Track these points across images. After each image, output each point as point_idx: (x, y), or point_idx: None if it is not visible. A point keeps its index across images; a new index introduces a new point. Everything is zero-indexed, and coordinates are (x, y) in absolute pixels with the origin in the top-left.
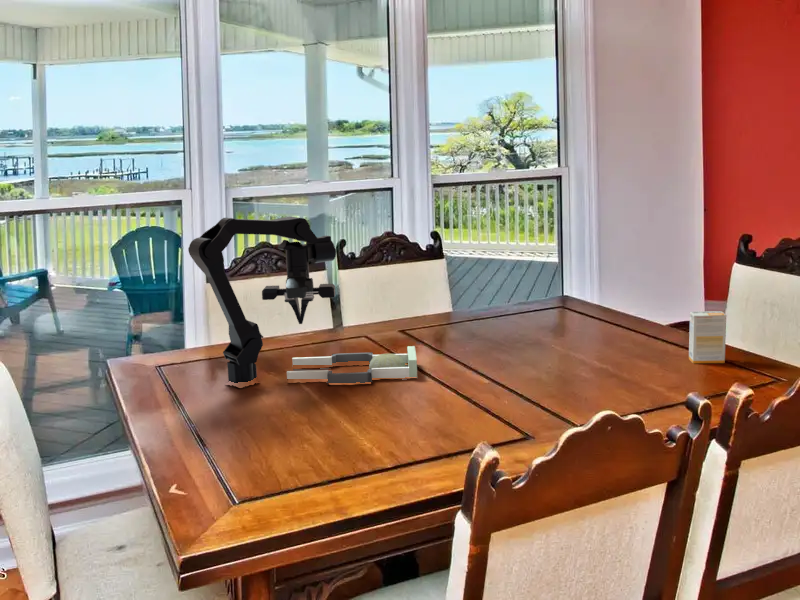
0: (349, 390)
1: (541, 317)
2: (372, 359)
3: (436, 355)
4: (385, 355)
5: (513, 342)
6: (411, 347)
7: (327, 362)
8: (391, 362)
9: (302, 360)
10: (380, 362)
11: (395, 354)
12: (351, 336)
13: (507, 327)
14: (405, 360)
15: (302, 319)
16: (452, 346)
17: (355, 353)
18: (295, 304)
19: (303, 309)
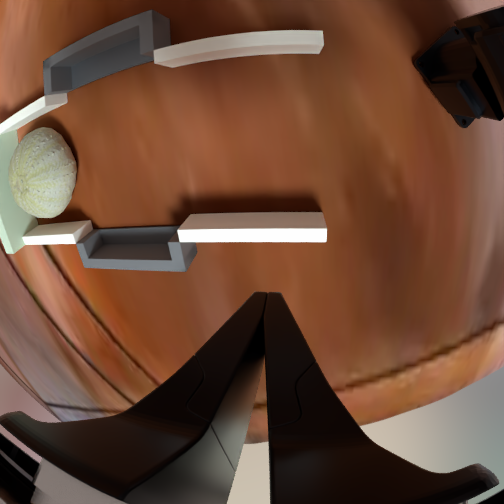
0: (110, 2)
1: (37, 386)
2: (48, 171)
3: (31, 283)
4: (22, 184)
5: (2, 317)
6: (5, 243)
7: (197, 221)
8: (16, 151)
9: (287, 224)
10: (30, 143)
11: (38, 240)
12: None
13: (39, 373)
14: (33, 230)
15: (242, 309)
16: (39, 325)
17: (119, 264)
18: (293, 454)
19: (195, 381)
